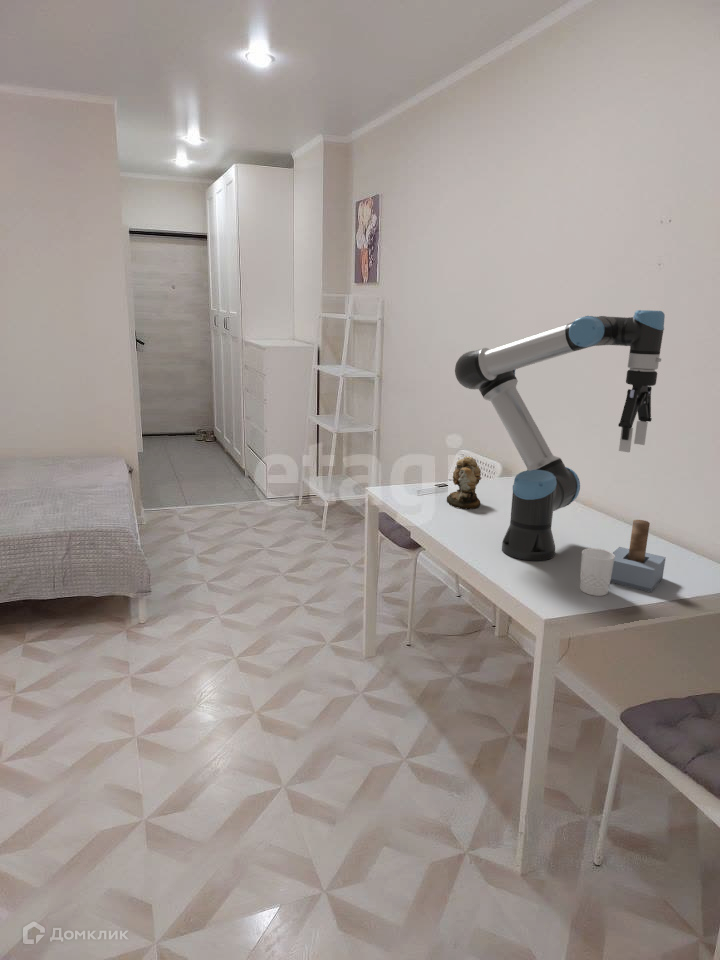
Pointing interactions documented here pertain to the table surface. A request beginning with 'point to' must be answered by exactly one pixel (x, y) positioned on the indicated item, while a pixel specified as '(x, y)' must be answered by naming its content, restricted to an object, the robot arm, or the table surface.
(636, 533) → the walnut dowel
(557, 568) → the table surface
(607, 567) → the white cup
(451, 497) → the brown stone bust
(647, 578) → the socket block
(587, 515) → the table surface
